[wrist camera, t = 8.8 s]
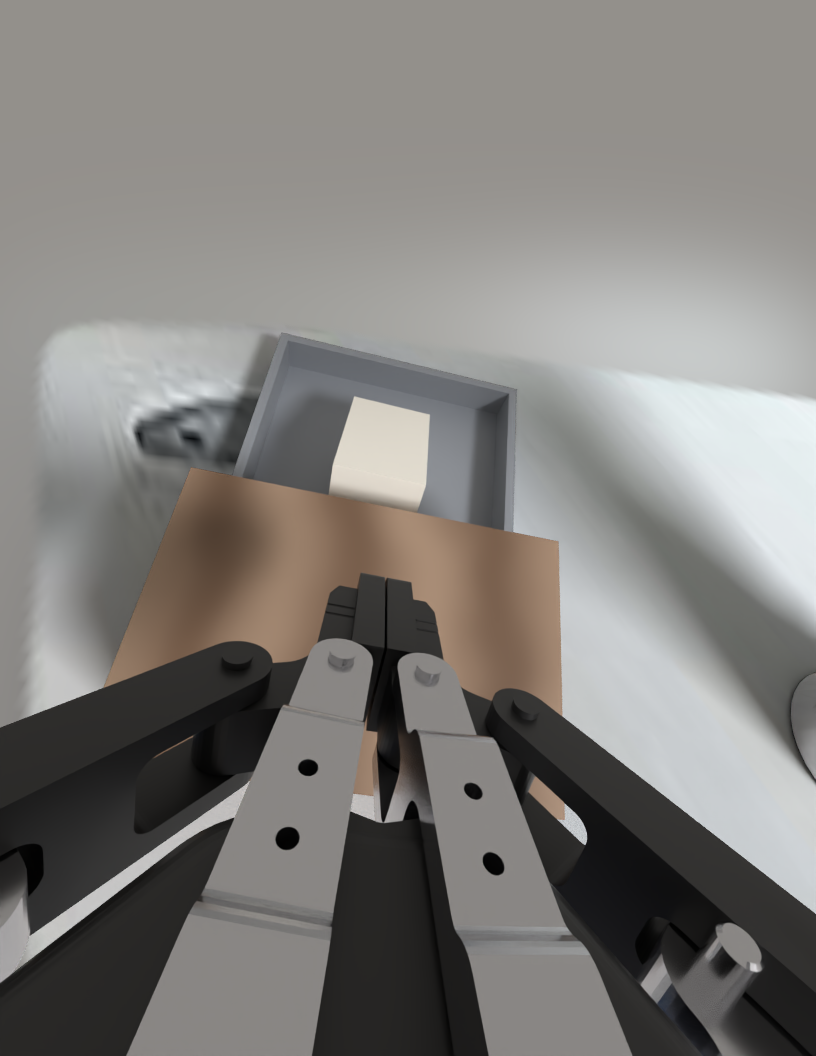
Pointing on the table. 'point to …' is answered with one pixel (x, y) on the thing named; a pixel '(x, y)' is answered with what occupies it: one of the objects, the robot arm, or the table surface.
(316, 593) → the walnut platform
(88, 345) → the table surface
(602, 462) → the table surface
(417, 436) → the cream block
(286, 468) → the box
